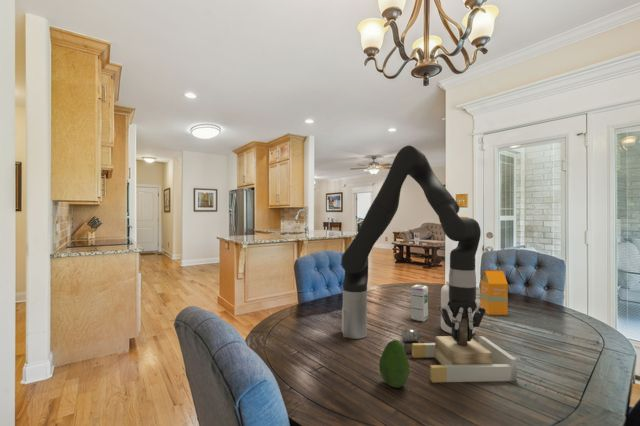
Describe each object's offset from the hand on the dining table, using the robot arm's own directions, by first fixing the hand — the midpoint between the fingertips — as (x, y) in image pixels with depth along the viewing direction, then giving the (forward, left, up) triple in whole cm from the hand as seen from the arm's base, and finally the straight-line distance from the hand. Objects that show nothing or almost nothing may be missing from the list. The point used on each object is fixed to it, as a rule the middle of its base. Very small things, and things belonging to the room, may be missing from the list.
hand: (461, 340), depth 93 cm
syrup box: (+3, +43, -8) cm, 44 cm away
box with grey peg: (0, 0, -8) cm, 8 cm away
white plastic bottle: (+13, +29, -8) cm, 33 cm away
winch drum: (-12, +12, -8) cm, 19 cm away
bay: (-1, 0, -8) cm, 8 cm away
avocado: (-24, -9, -8) cm, 27 cm away
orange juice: (+42, +51, -8) cm, 67 cm away
